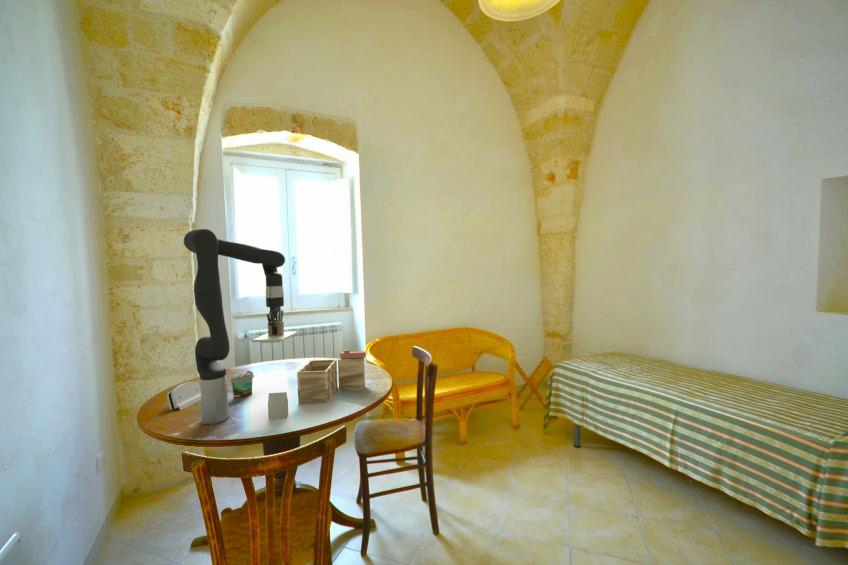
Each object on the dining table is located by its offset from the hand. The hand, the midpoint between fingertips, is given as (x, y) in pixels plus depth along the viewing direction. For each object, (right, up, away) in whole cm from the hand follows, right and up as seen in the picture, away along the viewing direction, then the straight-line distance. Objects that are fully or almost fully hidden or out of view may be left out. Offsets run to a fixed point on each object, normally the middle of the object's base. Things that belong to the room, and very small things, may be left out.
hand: (276, 333), depth 171 cm
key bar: (+33, -13, +11) cm, 37 cm away
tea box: (+9, -31, -20) cm, 38 cm away
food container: (-17, -30, +7) cm, 35 cm away
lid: (0, -2, 0) cm, 2 cm away
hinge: (-40, -31, -1) cm, 51 cm away
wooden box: (+25, -29, +4) cm, 39 cm away
